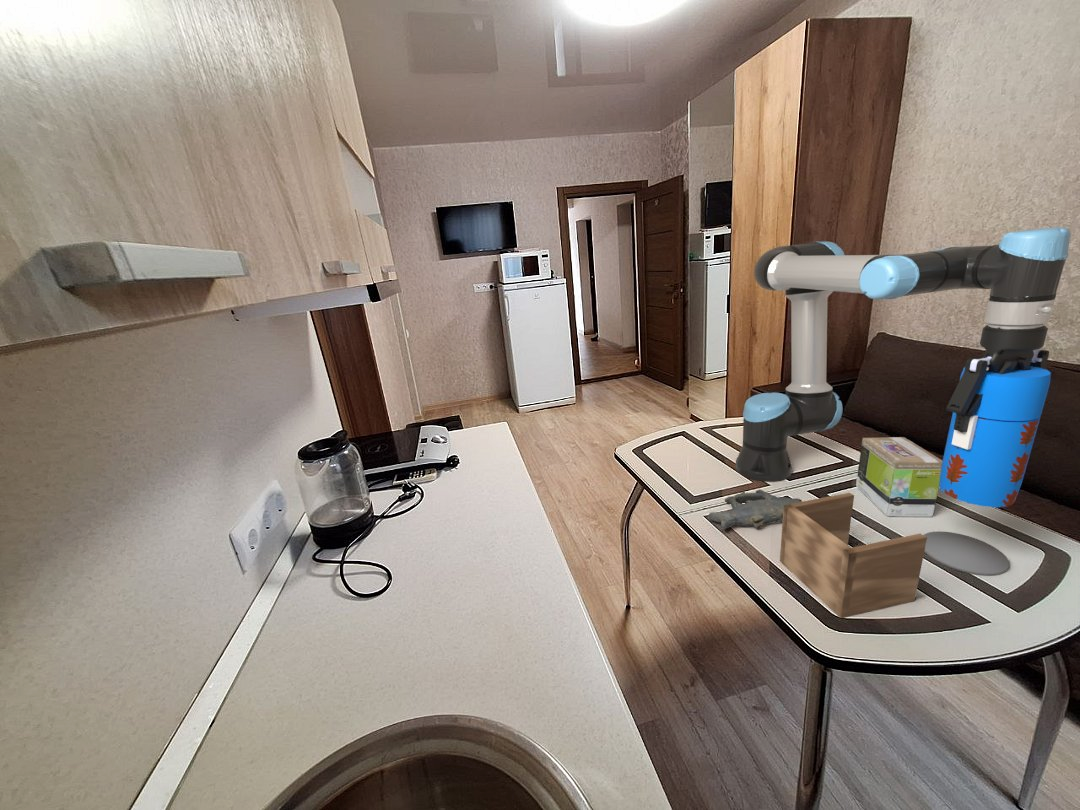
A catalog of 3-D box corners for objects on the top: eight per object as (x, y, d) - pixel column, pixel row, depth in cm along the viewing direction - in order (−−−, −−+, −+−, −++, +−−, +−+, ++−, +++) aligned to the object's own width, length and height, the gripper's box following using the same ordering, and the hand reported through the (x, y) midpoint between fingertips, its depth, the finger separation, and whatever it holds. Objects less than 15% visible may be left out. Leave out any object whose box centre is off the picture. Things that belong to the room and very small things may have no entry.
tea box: (935, 518, 98) (946, 461, 93) (885, 517, 100) (894, 462, 95) (896, 485, 112) (905, 435, 107) (854, 486, 114) (860, 436, 109)
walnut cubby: (779, 561, 90) (783, 505, 86) (842, 548, 92) (849, 492, 88) (840, 618, 75) (849, 553, 71) (914, 601, 77) (927, 537, 72)
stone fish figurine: (820, 502, 100) (777, 480, 115) (724, 519, 98) (692, 494, 112) (820, 521, 101) (777, 497, 116) (724, 538, 99) (693, 511, 113)
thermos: (923, 483, 87) (946, 367, 79) (970, 476, 87) (998, 360, 80) (980, 511, 76) (1013, 381, 69) (1034, 503, 77) (1072, 372, 69)
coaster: (903, 540, 92) (903, 537, 91) (955, 530, 93) (955, 526, 93) (969, 581, 79) (970, 578, 79) (1027, 568, 81) (1028, 564, 80)
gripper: (981, 337, 67) (955, 460, 74) (1102, 317, 69) (1067, 438, 76) (932, 331, 74) (913, 444, 81) (1044, 314, 76) (1016, 425, 83)
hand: (987, 441), depth 78 cm, fingers closed on thermos, 11 cm apart
